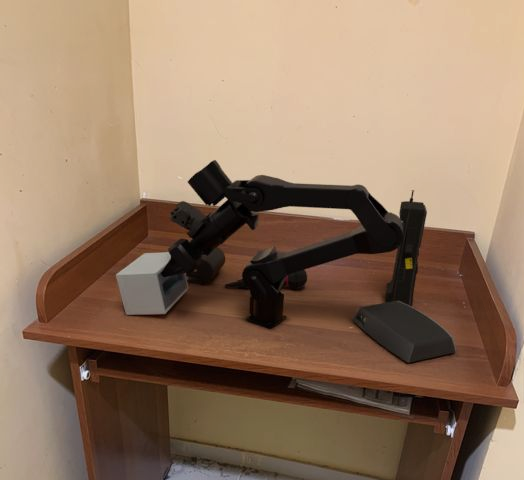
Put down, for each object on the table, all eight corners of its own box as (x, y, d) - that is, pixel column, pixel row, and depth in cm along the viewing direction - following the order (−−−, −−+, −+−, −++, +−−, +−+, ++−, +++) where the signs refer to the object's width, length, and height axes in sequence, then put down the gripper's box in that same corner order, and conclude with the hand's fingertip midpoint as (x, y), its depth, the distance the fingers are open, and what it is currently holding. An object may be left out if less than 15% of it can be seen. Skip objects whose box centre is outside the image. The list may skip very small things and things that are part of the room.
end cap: (213, 287, 125) (213, 260, 122) (185, 283, 127) (184, 256, 123) (225, 272, 134) (225, 247, 131) (199, 269, 135) (199, 243, 132)
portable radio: (412, 311, 118) (434, 200, 106) (385, 308, 119) (404, 197, 107) (410, 297, 125) (431, 191, 112) (385, 294, 126) (403, 189, 113)
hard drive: (398, 313, 117) (401, 296, 115) (458, 354, 102) (463, 335, 100) (349, 321, 112) (351, 304, 110) (404, 365, 97) (408, 346, 95)
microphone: (226, 302, 125) (308, 292, 126) (224, 283, 121) (309, 274, 122) (225, 287, 129) (305, 278, 130) (222, 269, 125) (305, 259, 125)
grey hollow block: (188, 289, 120) (181, 251, 116) (164, 314, 108) (155, 273, 104) (153, 290, 122) (144, 253, 118) (126, 314, 111) (115, 274, 106)
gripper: (210, 181, 109) (162, 225, 117) (178, 201, 93) (124, 251, 101) (244, 223, 112) (195, 264, 119) (218, 250, 96) (163, 295, 103)
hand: (170, 267), depth 111 cm, fingers open, 9 cm apart
